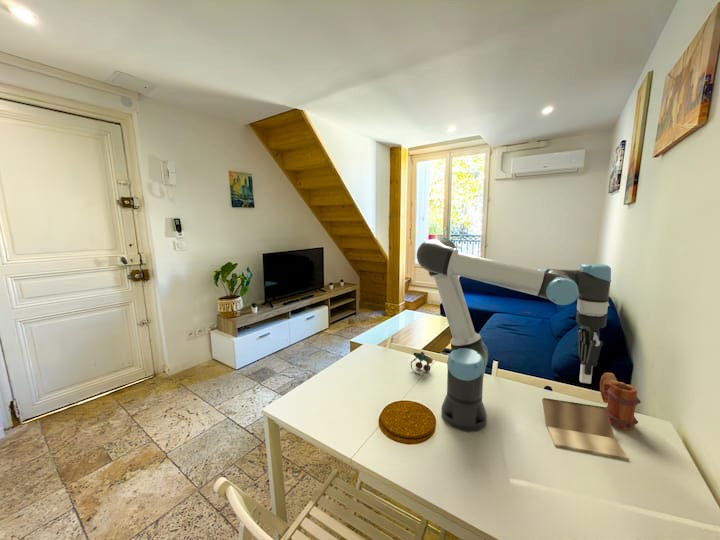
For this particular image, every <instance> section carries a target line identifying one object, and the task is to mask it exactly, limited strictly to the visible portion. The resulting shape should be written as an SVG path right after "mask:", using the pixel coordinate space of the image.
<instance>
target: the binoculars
mask: <svg viewBox="0 0 720 540" xmlns="http://www.w3.org/2000/svg"><path fill="white" fill-rule="evenodd" d="M412 355H413V356H414V357H415V358H414V359H413V360H412V361H411V362H410V368H411V370H412V371H413V372H414V373H415V374H417V375H419V373H418V372H416V371H415V370H414V369H413V366H412V365H413V362H416V360H418V361H417V362H416V363H415V367H416V369H418V370H420V369H423V371H425V372H424V373H423V375H425V374H427V373H428V372H430V371H431V366H430V364H432V363H433V362H434V360H433V357H430V356H428V355H425V352H424V351H420V353H419V352H413V354H412ZM423 361H424V362H426V364H424V365H423V363H422V362H423Z"/></svg>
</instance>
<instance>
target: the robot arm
mask: <svg viewBox="0 0 720 540" xmlns="http://www.w3.org/2000/svg"><path fill="white" fill-rule="evenodd" d="M416 259H417V260H416V261H417V263H418V265H419V266H420V267H421V268H422V269H423V270H426V271H427V272H428V274H429V277H430V278H433V279H434V281H435V283H436V287H437V290H438V294H439V297H440V300H441V304H442V307H443V310H444V313H445V317H446V320H447V323H448V326H449V330H450V333H451V335H452V337H451V339H450V341H449V343H450V346H451V350H452V351H451V352H450V353H449V355H448V357H447V361H446V363H447V374H446V375H447V379H446V382H447V384H446V395H445V398H444V400H443V402H442V405H441V410H440V411H441V417H442V419H443V421H444V422H445V423H446V424H447V425H449V426H450V427H452V428H454V429H456V430H459V431H463V432H468V433H469V432H473V433H474V432H478V431H481V430H483V429H484V428H485V427H486V426H487V421H488V416H487V411H486V409H485V405H484V403H483V401H484V400H483V391H484V390H483V389H484V388H483V387H484V376H485V372H486V368H487V364H488V361H489V351H488V348H487V345H486V344H485V343H484V342H483V339H482V337H481V334H480V333H477V332H476V331H475V328H474V324H473V321H472V318H471V314H470V311H469V307H468V305H467V302H466V298H465V295H464V292H463V288H462V286H461V282H460V278H459V276H460V277H462V278H463V277H464V278H467V279H471V280H475V281H478V282H482V283H485V284H490V285H493V286H499V287H501V288H505V289H509V290H512V291H517V292H521V293H524V294H529V295H533V296H536V297H540V298H543V299H547V300H549V301H550V302H552V303H554V304H556V305H560V306H567V305H571V304H572V303H574V302H575V301H576V300H577V304H576V310H577V312H576V315H575V316H576V317H575V323H577V324H578V325H579V326H580V327H579V326H578V327H577V339H578V341H577V344H578V346H577V348H578V349H577V352H578V353H577V354H578V357H579V359H580V366H579V367H580V370H579V377H578V378H579V382H580V383H582V384H589V385H590V384H592V376H593V367H597V365H598V363H599V362H598V361H599V357H600V353H601V349H602V347H603V345H604V341H603V340H600V337H601V334H600V329H603V328H605V327H606V326H607V319H608V315H607V314H608V310H609V309H608V307H610V303H609V298H610V290H611V283H612V268H611V267H610V266H609V265H607V264H605V263H604V264H603V263H583V264H581V265H580V268H579V269H576V270H575V269H555V268H553V269H552V268H537V269H534V268H529V267H526V266H525V267H524V266H521V265H516V264H512V263H509V262H508V263H507V262H503V261H499V260H495V259H490V258H486V257H483V256H482V257H481V256H477V255H472V254H469V253H463V252H459V250H458V248H457V247H456V244H455V243H454V242H453V241H452V240H450V239H448V238H446V237H442V236H441V237H438V236H437V237H435V238H431V239H427V240H425V241H424V242H422V243H421V244H420V245H419V247H418V248H417V251H416Z"/></svg>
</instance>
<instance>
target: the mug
mask: <svg viewBox="0 0 720 540" xmlns="http://www.w3.org/2000/svg"><path fill="white" fill-rule="evenodd" d="M599 391H600V392H599V393H600V396H601V399H602V401H603V403H605V404H607V406H605V407H606V408H607V412H608V416H609V419H610V423H611V426H613V427H614V428H617V429H620V430H623V431H631V430H632V429H633V427H635V426H636V425H638V423H639V421H638V420H637V418H636V417H635V411H636V407H637V406H638V404H641V400H640V399H639V398H638V390H637V389H636V387H634V386H633V385H631V384H627V383H625V382H622V381H618V379H617V378H616V376H615V374H614V373H613V372H604V373H603V374H602V375H601V378H600V381H599Z"/></svg>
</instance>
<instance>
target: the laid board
mask: <svg viewBox="0 0 720 540" xmlns="http://www.w3.org/2000/svg"><path fill="white" fill-rule="evenodd" d="M546 428H547V431H548V433H549V436H550V438H551V441H552V443H553V445H554V447H556V448H557V447H558V448H563V449H567V450H573V451H578V452H583V453H588V454H594V455H598V456H605V457H609V458H614V459H617V460H619V459H620V460H625V461H629V459H630V458H629V456H628V455H627V453H626V452H625V450H624V449H623V448H622V447H621V445H620V444H619V442H618V441H617V439H616V438H610V437H604V436H599V435H593V434H588V433H582V432H576V431H571V430H565V429H559V428H554V427H548V426H547V427H546Z"/></svg>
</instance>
